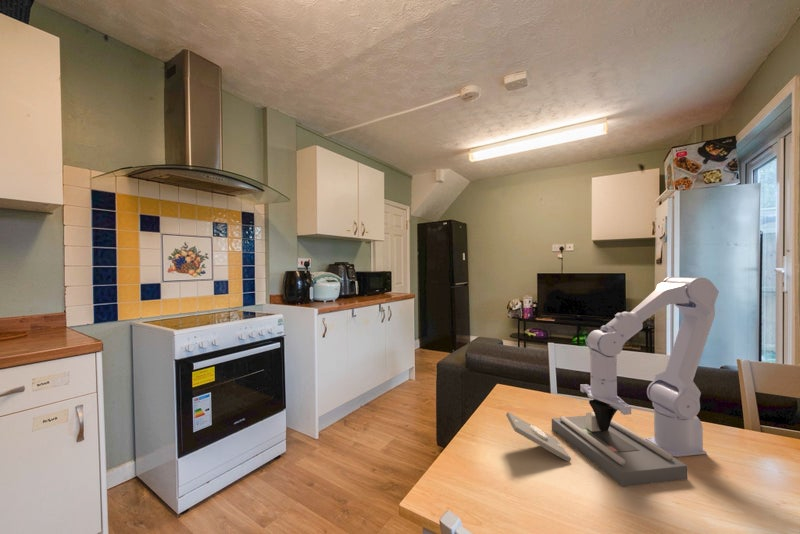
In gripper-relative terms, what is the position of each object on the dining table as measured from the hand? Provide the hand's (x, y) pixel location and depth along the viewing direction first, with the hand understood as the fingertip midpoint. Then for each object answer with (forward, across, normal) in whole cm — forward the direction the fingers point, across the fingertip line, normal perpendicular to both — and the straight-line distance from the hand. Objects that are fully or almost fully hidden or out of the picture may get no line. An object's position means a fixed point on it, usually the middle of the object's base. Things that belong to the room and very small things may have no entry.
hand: (603, 429), depth 81 cm
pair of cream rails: (+1, +2, 0) cm, 2 cm away
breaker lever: (+1, -2, 0) cm, 2 cm away
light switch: (+4, -1, -18) cm, 19 cm away
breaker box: (+4, +2, 0) cm, 5 cm away
